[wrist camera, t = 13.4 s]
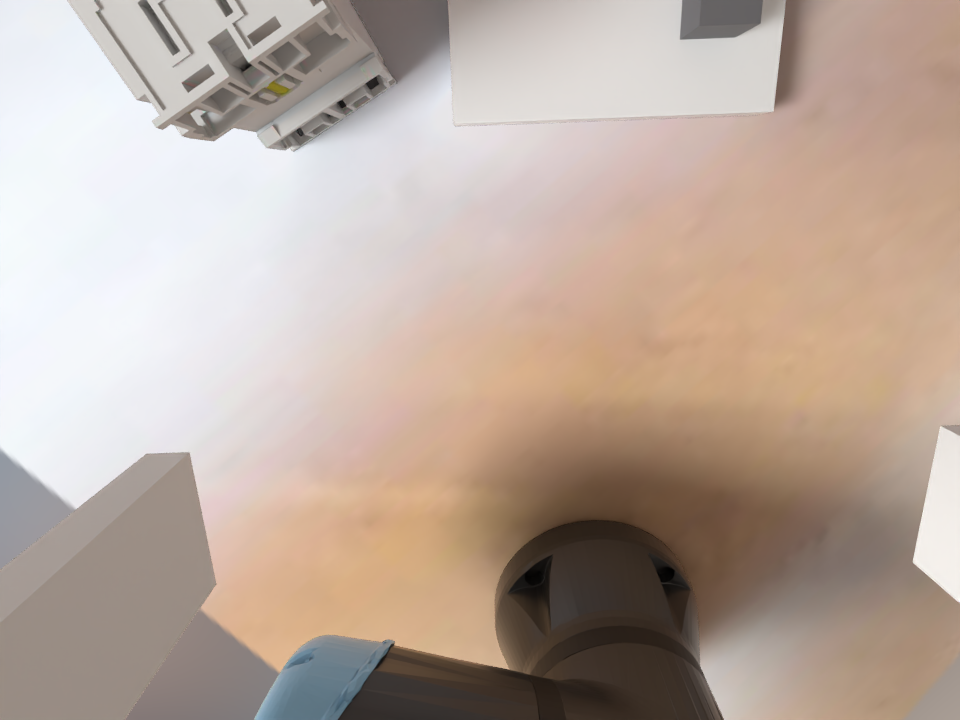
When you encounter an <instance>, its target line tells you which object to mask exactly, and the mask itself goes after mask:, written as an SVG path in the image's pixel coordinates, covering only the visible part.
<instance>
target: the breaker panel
mask: <svg viewBox="0 0 960 720" xmlns="http://www.w3.org/2000/svg"><path fill="white" fill-rule="evenodd" d="M785 5H786V0H448V17H449V39H450V62H451V84H452V106H453V124H454V126H455V127H460V126H487V125H513V124H540V123H566V122H592V121H619V120H645V119H672V118H698V117H725V116H751V115H761V114H765V113H770V112H774V103H775V94H776V85H777V76H778V67H779V58H780V49H781V40H782V32H783V23H784V14H785Z"/></svg>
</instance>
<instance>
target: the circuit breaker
mask: <svg viewBox="0 0 960 720" xmlns="http://www.w3.org/2000/svg"><path fill="white" fill-rule="evenodd" d="M67 1H68V2H69V4H70V5H71V7H72V8H73V10H74V11H75V12H76V14H77V15H78V17H79V18H80V20H81V21H82V22H83V24H84V25H85V27H86V28H87V30H88V31H89V32H90V34H91V35H92V37H93V38H94V40H95V41H96V42H97V44H98V45H99V47H100V48H101V50H102V51H103V52H104V54H105V55H106V57H107V58H108V60H109V61H110V62H111V64H112V65H113V67H114V68H115V70H116V71H117V72H118V74H119V75H120V77H121V78H122V80H123V81H124V82H125V84H126V85H127V87H128V88H129V90H130V91H131V92H132V94H133V95H134V97H135V98H136V100H140V101H144V102H149V103H152V105H153V106H154V108H155V109H156V110H157V112H158V113H159V115H160V116H158V117H157V118H156V119H154V120H153V121H152V122H153V124H154V125H155V127H156V128H159V129H162V130H163V129H165V128H166V127H167V126H169V125H170V124H172V125H175V127H176V128H177V130H178V131H179V133H180V134H181V136H184V137H187V138H192V139H200V140H208V141H215V140H217V139H218V138H219V137H221V136H222V135H224V134H225V133H227V132H228V131H230V130H231V129H233V128H237V129H242V130H248V131H253V132H256V133H257V137H258V138H259V139H260V140H261V142H262V143H263V144H264V146H265V147H266V148H270V149H278V150H287V149H288V148H290V149H291V151H295V150H297V149H298V148H300V147H301V146H303V145H304V144H306V143H307V142H309V141H310V140H312V139H313V138H315V137H316V136H318V135H319V134H321V133H322V132H324V131H325V130H327V129H328V128H330V127H331V126H333V125H335V124H336V123H338V122H339V121H341V120H342V119H344V118H345V117H347V116H348V115H350V114H351V113H353V112H354V111H356V110H357V109H359V108H360V107H362V106H363V105H365V104H366V103H368V102H369V101H371V100H372V99H374V98H375V97H377V96H378V95H380V94H381V93H383V92H384V91H386V90H387V89H389V88H390V87H392V86H393V85H395V84H396V83H397V82H396V81H395V79H394V77H393V76H391V75H390V73H389V71H388V70H387V68H386V66H385V64H384V63H383V62H384V60H383V58H382V56H381V54H380V53H379V51H378V49H377V47H376V46H375V44H374V42H373V40H372V39H371V37H370V35H369V33H368V32H367V30H366V28H365V26H364V25H363V23H362V21H361V19H360V18H359V16H358V14H357V12H356V11H355V9H354V7H353V5H352V4H351V2H350V0H67ZM374 77H377V80H378V83H379V85H377V86H376V87H374V88H373V89H370V88H369V87H368V86H367V84H366V83H367V82H368V81H370V80H371V79H373V78H374ZM342 99H343V101H344V103H345V104H346V106H345V107H344V108H341V106H340V105H339V103H338V102H339V101H340V100H342ZM327 114H329V115H332V116H330V117H328V115H327ZM298 128H301V130H302V131H303V133H304V135H302V136H300V134H299V133H298V131H297V129H298Z"/></svg>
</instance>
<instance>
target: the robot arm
mask: <svg viewBox="0 0 960 720" xmlns="http://www.w3.org/2000/svg"><path fill="white" fill-rule="evenodd" d="M913 563H914V564H915V565H916V566H917V567H919V568H920V569H921V570H922V571H923V572H924V573H925V574H927V575H928V576H929V577H930V578H931V579H932V580H934V581H935V582H936V583H937V584H938V585H939V586H940V587H942V588H943V589H944V590H945V591H946V592H947V593H948V594H950V595H951V596H952V597H953V598H954V599H955V600H956V601H958V602H959V603H960V425H951V426H940V430H939V435H938V440H937V445H936V450H935V455H934V460H933V465H932V469H931V474H930V479H929V484H928V489H927V494H926V499H925V504H924V509H923V513H922V518H921V523H920V528H919V533H918V538H917V543H916V548H915V553H914V557H913ZM215 585H216V580H215V575H214V571H213V566H212V561H211V556H210V551H209V546H208V541H207V536H206V531H205V526H204V522H203V517H202V512H201V507H200V502H199V497H198V492H197V487H196V482H195V477H194V473H193V468H192V463H191V458H190V453H189V452H185V453H157V454H146V455H144V456H143V457H142V458H141V459H139V460H138V461H137V462H136V463H134V464H133V465H132V466H131V467H129V468H128V469H127V470H126V471H124V472H123V473H122V474H120V475H119V476H118V477H117V478H115V479H114V480H113V481H112V482H110V483H109V484H108V485H107V486H105V487H104V488H103V489H101V490H100V491H99V492H98V493H96V494H95V495H94V496H93V497H91V498H90V499H89V500H88V501H86V502H85V503H84V504H83V505H81V506H80V507H79V508H77V509H76V510H75V511H74V512H72V513H71V514H70V515H69V516H67V517H66V518H65V519H64V520H62V521H61V522H60V523H59V524H57V525H56V526H55V527H53V528H52V529H51V530H50V531H48V532H47V533H46V534H45V535H43V536H42V537H41V538H40V539H38V540H37V541H36V542H34V543H33V544H32V545H31V546H29V548H27V549H26V550H24V551H23V552H22V553H21V554H19V555H18V556H17V557H15V558H14V559H13V560H12V561H11V562H9V563H8V564H7V565H5V566H4V567H3V568H2V569H0V720H125V719H126V717H127V716H128V714H129V713H130V711H131V710H132V708H133V707H134V705H135V704H136V702H137V701H138V699H139V698H140V696H141V695H142V693H143V692H144V691H145V689H146V688H147V686H148V685H149V683H150V682H151V680H152V679H153V677H154V676H155V674H156V673H157V671H158V670H159V668H160V667H161V665H162V664H163V662H164V661H165V659H166V658H167V656H168V655H169V654H170V652H171V651H172V649H173V648H174V646H175V645H176V643H177V642H178V640H179V639H180V637H181V636H182V634H183V633H184V631H185V630H186V628H187V627H188V625H189V624H190V622H191V621H192V619H193V618H194V616H195V615H196V613H197V612H198V610H199V609H200V607H201V606H202V604H203V603H204V602H205V600H206V599H207V597H208V596H209V594H210V593H211V591H212V590H213V588H214V587H215ZM495 628H496V635H497V639H498V643H499V646H500V649H501V652H502V654H503V656H504V658H505V660H506V663H507V665H508V667H509V669H510V670H508V669H503V668H498V667H493V666H488V665H483V664H478V663H473V662H468V661H463V660H458V659H453V658H448V657H444V656H439V655H435V654H430V653H426V652H421V651H417V650H412V649H408V648H403V647H399V646H394V644H395V641H392V640H385V641H383V642H376V641H370V640H363V639H356V638H350V637H343V636H336V635H324V636H319V637H316V638H314V639H312V640H310V641H308V642H307V643H305V644H304V645H303V646H301V647H300V648H299V649H298V650H297V651H296V652H295V653H294V654H293V655H292V657H291V658H290V659H289V660H288V662H287V663H286V665H285V666H284V667H283V669H282V671H281V672H280V674H279V676H278V677H277V679H276V680H275V682H274V684H273V685H272V687H271V689H270V691H269V693H268V694H267V696H266V698H265V700H264V701H263V703H262V705H261V707H260V709H259V711H258V713H257V715H256V717H255V719H254V720H724V718H723V716H722V714H721V712H720V710H719V707H718V705H717V703H716V701H715V699H714V696H713V694H712V692H711V690H710V688H709V685H708V683H707V681H706V679H705V677H704V674H703V672H702V670H701V667H700V648H699V625H698V608H697V602H696V598H695V594H694V591H693V589H692V586H691V584H690V582H689V580H688V578H687V576H686V574H685V572H684V570H683V568H682V566H681V564H680V562H679V561H678V559H677V558H676V556H675V555H674V554H673V553H672V551H671V550H670V549H669V548H668V547H667V546H666V545H664V544H663V543H662V542H661V541H660V540H658V539H657V538H655V537H654V536H652V535H651V534H649V533H647V532H645V531H643V530H641V529H638V528H636V527H633V526H630V525H626V524H622V523H617V522H610V521H583V522H576V523H571V524H567V525H563V526H560V527H557V528H555V529H552V530H550V531H547V532H545V533H543V534H541V535H540V536H538V537H536V538H535V539H533V540H532V541H530V542H529V543H527V544H526V545H525V546H524V547H523V548H521V549H520V550H519V551H518V552H517V553H516V554H515V555H514V557H513V558H512V559H511V560H510V562H509V563H508V564H507V566H506V568H505V569H504V571H503V573H502V575H501V577H500V580H499V582H498V586H497V589H496V594H495Z"/></svg>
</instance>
